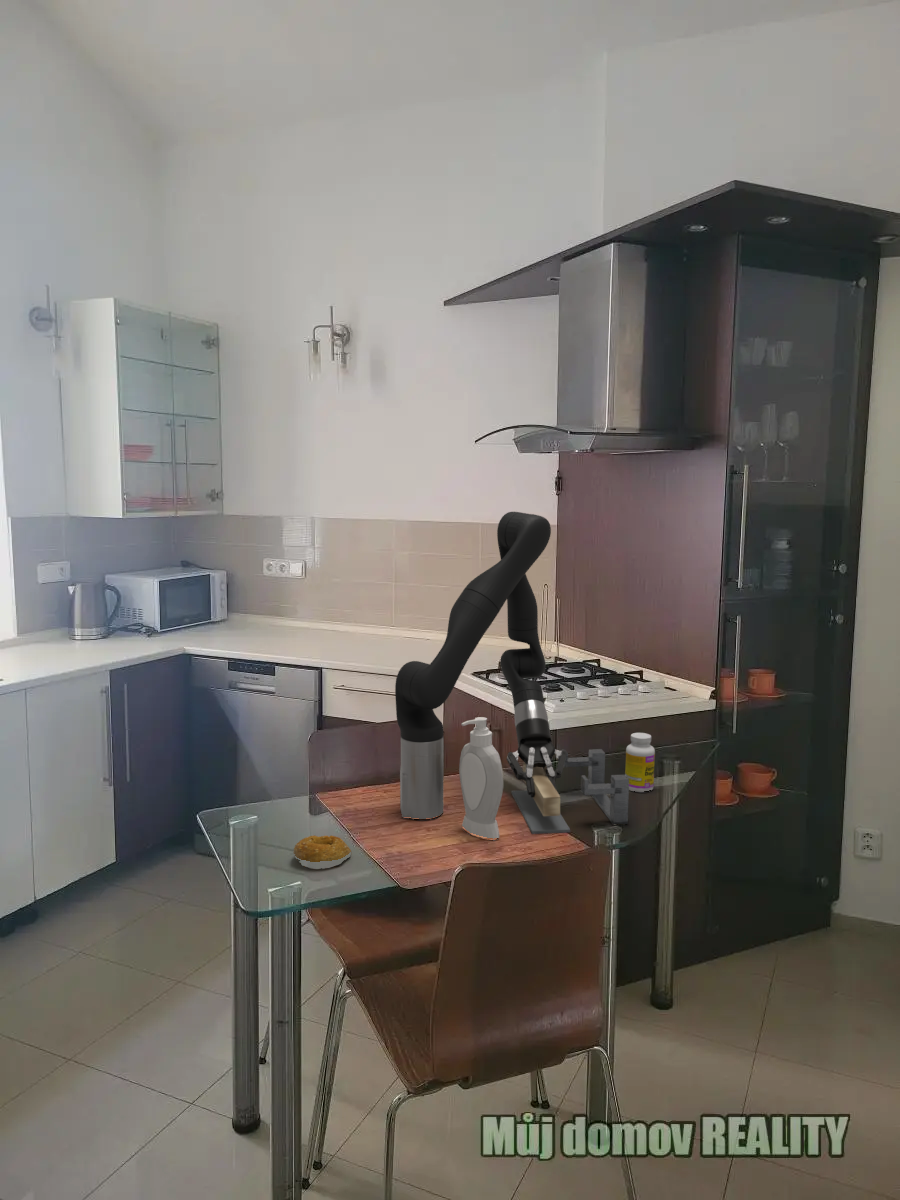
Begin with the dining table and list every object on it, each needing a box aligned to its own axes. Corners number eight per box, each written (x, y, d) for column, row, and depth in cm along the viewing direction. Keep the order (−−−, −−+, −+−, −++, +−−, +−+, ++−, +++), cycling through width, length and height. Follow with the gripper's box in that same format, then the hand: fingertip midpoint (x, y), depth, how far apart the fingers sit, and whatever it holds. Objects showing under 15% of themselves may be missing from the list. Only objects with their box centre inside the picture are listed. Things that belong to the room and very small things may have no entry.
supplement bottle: (646, 795, 211) (647, 741, 209) (619, 789, 215) (621, 736, 213) (658, 787, 216) (660, 734, 214) (632, 781, 220) (634, 729, 218)
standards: (583, 826, 192) (584, 780, 191) (560, 792, 213) (561, 749, 211) (627, 825, 193) (629, 778, 192) (600, 790, 214) (601, 748, 212)
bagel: (356, 866, 173) (356, 842, 172) (298, 875, 170) (297, 851, 169) (345, 847, 182) (344, 824, 182) (290, 855, 179) (289, 831, 178)
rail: (543, 816, 188) (543, 797, 188) (523, 779, 210) (523, 763, 209) (560, 815, 189) (560, 796, 188) (538, 779, 210) (538, 762, 210)
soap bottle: (441, 829, 190) (441, 715, 187) (469, 820, 195) (469, 709, 192) (483, 849, 181) (484, 729, 177) (511, 839, 186) (512, 722, 182)
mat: (532, 833, 188) (532, 831, 188) (511, 793, 212) (511, 790, 212) (570, 832, 189) (570, 829, 189) (545, 791, 213) (545, 789, 213)
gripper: (503, 717, 203) (512, 789, 193) (565, 715, 205) (578, 786, 195) (499, 733, 209) (508, 804, 199) (559, 731, 211) (571, 801, 201)
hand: (542, 795), depth 197 cm, fingers closed on rail, 3 cm apart
